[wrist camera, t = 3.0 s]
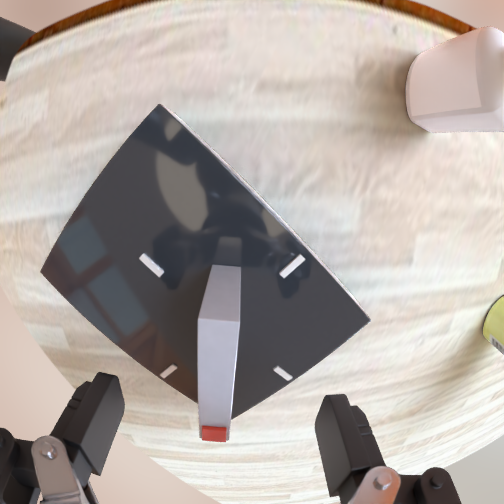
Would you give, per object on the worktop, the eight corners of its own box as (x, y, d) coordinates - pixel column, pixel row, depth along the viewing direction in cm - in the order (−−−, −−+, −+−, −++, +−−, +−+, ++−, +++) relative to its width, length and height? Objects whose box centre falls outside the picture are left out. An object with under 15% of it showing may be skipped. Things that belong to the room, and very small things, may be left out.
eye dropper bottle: (380, 88, 14) (538, 37, 2) (424, 47, 13) (553, 0, 1) (423, 141, 15) (584, 156, 4) (461, 97, 14) (596, 89, 2)
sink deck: (63, 255, 17) (38, 272, 14) (173, 112, 14) (158, 102, 11) (229, 393, 21) (227, 423, 18) (354, 297, 18) (372, 322, 15)
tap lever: (212, 263, 14) (196, 322, 9) (241, 266, 14) (240, 326, 9) (208, 372, 16) (198, 442, 11) (231, 374, 16) (228, 444, 11)
